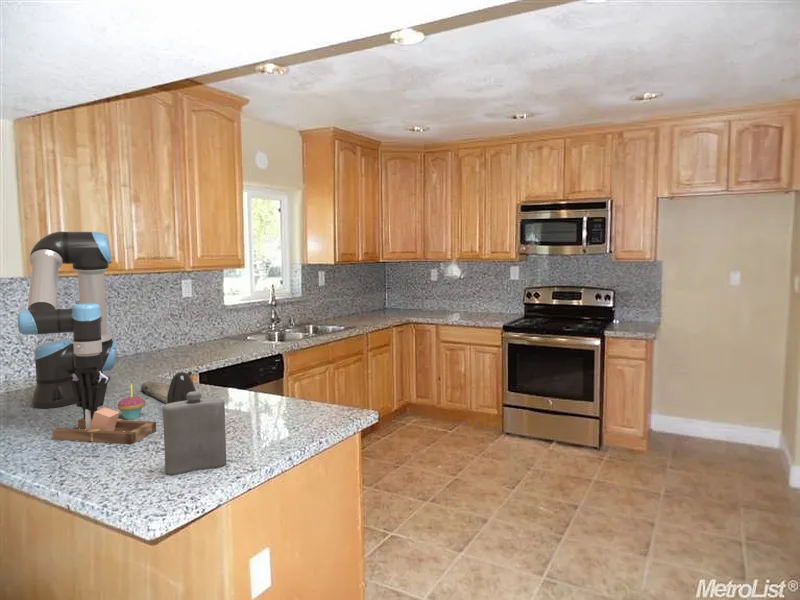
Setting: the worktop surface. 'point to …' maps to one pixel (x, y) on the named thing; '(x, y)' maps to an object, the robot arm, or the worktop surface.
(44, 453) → the worktop surface
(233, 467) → the worktop surface
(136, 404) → the cupcake
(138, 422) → the slotted beam
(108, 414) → the block
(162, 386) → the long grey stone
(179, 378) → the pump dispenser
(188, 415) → the flask
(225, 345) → the worktop surface
